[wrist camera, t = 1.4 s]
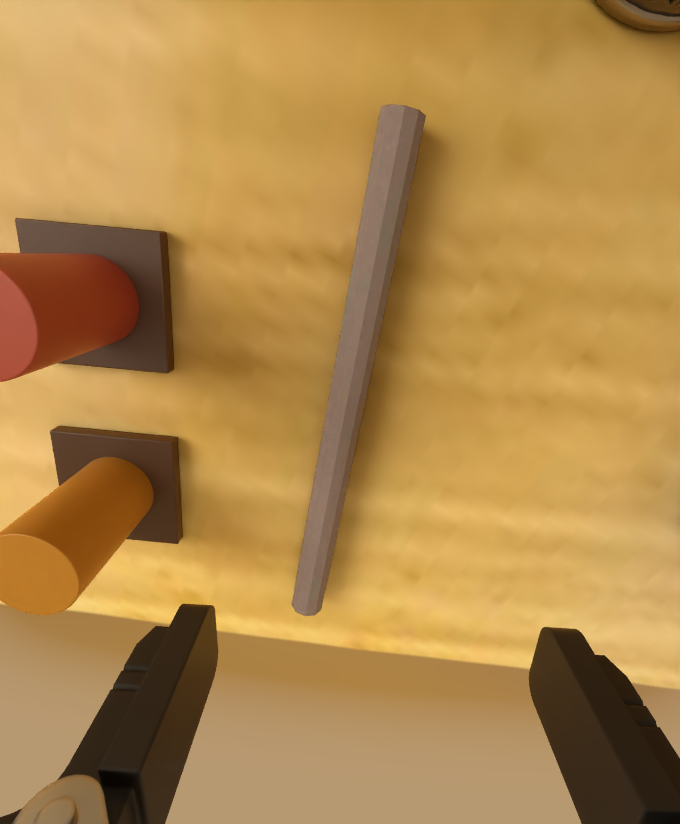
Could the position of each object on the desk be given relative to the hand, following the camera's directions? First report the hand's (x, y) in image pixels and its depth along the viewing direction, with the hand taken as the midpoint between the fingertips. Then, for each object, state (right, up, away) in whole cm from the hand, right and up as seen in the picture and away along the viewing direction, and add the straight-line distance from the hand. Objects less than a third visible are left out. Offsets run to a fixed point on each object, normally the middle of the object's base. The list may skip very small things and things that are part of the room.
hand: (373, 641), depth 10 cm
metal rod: (-1, +6, +13) cm, 15 cm away
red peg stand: (-13, +12, +12) cm, 21 cm away
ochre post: (-14, +1, +15) cm, 21 cm away
